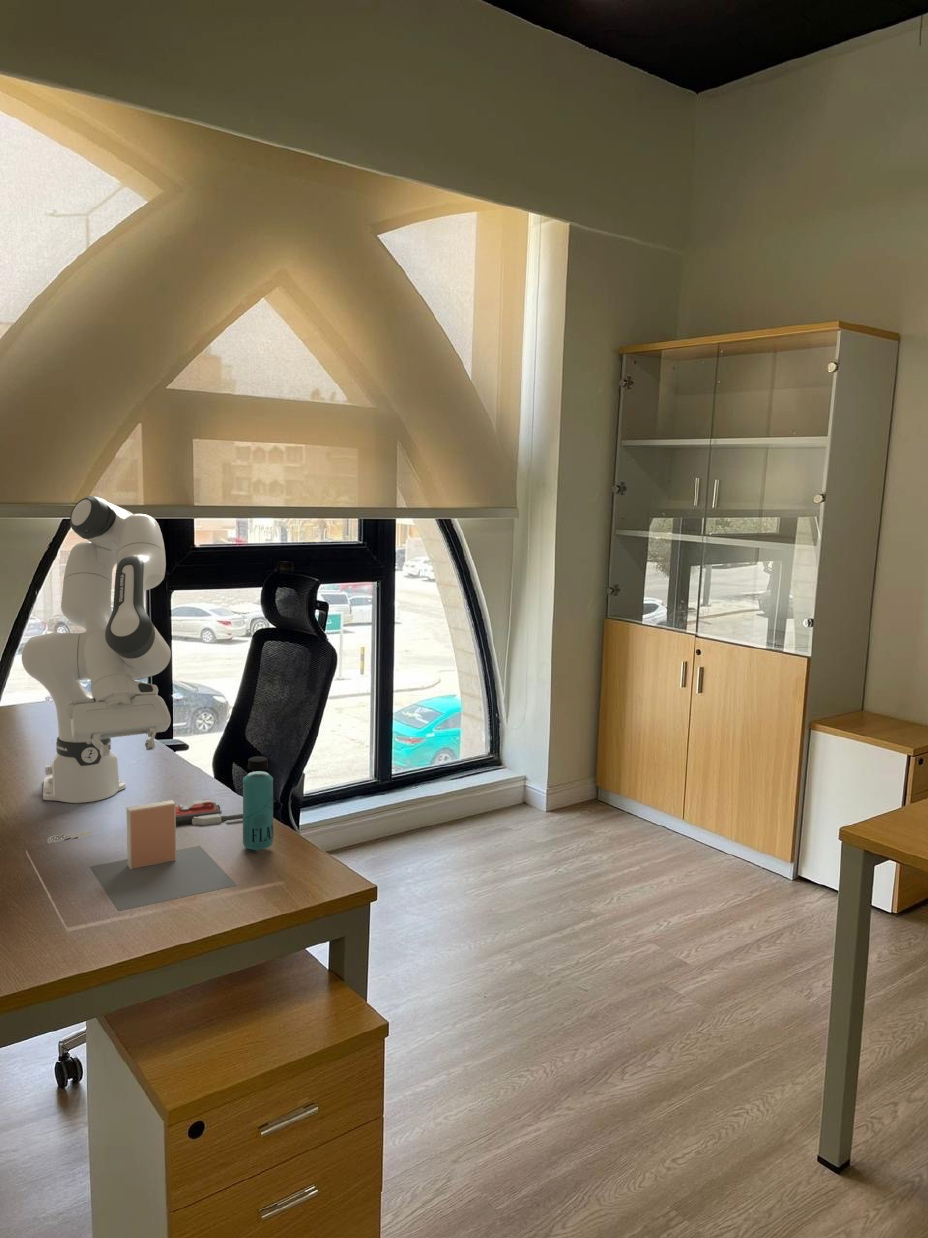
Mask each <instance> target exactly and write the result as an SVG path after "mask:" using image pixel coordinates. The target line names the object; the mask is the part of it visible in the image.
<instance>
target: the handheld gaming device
mask: <svg viewBox="0 0 928 1238" xmlns="http://www.w3.org/2000/svg"><path fill="white" fill-rule="evenodd" d="M64 836H65V837H64ZM92 836H93V832H92V831H80V832H71V833H61V834H54V835H50V836H49V837H47V841H46V842H47V844H53V843H58V842H65V841H71V840H76V839H81V838H87V837H92ZM55 837H56V838H55ZM50 838H51V839H50ZM54 838H55V839H54ZM57 838H58V839H57ZM61 838H62V839H61ZM52 839H53V840H52ZM54 840H55V841H54Z"/></svg>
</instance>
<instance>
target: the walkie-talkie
mask: <svg viewBox="0 0 928 1238" xmlns="http://www.w3.org/2000/svg"><path fill="white" fill-rule="evenodd" d="M175 808H176V826H180V825H187V824H189V825H192V826H193V825H201V826H206V825H215V824H221V823H222V822H223V823H224V822H225V823H226V822H227V821H233V820H234V821H235V820H241V819H242V820H243V813H240V814H231V815H222V814H223V812H222V809H221V806H220V804H217V802H213V801H212V800H211V799H209V798H206V799H197V800H192V801H191V802H189V803H188V804H187V805H183V804H182V803H179V804H178V806H175Z"/></svg>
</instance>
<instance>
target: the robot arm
mask: <svg viewBox="0 0 928 1238" xmlns="http://www.w3.org/2000/svg"><path fill="white" fill-rule="evenodd" d="M69 524H70V528H71V530H72V531H73V532H74V533H76V534H77V536H79V537H80V538H82V539H84V540H86V541H81V542H78V543H77V544H75V545H73V547H72V548H71V550H70V551H69V555H68V558H67V561H66V565H65V568H64V575H63V581H62V594H61V602H60V608H61V611H62V615H64V617H65V618H66V619H67V620H69V621H70V622H71V623H73V624H75V625H77V626H80V627H81V628H83V629H85V631H84V632H67V633H66V632H57V633H56V632H51V633H44V634H40V635H34V636H31V637H30V638H29V639H28V640H27V641H26V643H25V644H24V646H23V648H22V652H21V663H22V666H23V668H24V670H25V672H26V673H27V674H28V675H29V676H30V677H31V678H33V679H34V680H36V681H38V683H40V684H41V685H42V686H43V687H44V688H45V689H46V691H48V694H49V695H50V696H51V699H52V700H53V702H54V706H55V710H56V717H57V728H58V730H57V731H58V733H57V734H58V736H57V737H56V742H55V743H56V744H55V746H56V747H55V751H56V754H55V756H54V757H53V759H52V764H46V765H45V766H44V768H45V770H44V772H45V775H46V776H45V777H43V788H42V791H43V792H42V800H44V801H58V802H63V803H72V804H73V803H75V804H77V803H90V802H97V801H101V800H105V799H107V798H110V797H112V796H113V795H115V794H116V793H117V792H119V791H122V790H124V789H126V788H127V785H126V782H123V781H122V780H120V776H119V775H120V774H119V764H118V757H117V755H116V754H115V753H113V752H112V751H111V749H112V739H113V738H121V737H128V736H129V737H130V736H137V735H145V734H147V737H148V738H150V739H146V741H145V744H144V747H145V748H146V749H145V750H146V751H153V750H154V749H155V748H156V744H155V738H156V735H157V733H163V732H166V731H167V730H168V728H169V727H170V725H171V721H172V719H171V714H170V711H169V708H168V706H167V704H166V702H165V700H164V698H162V696H160V695H158V693H159V688H158V686H157V684H154V683H153V684H152V683H147V682H142V681H138V680H143V679H148V678H151V677H154V676H157V675H159V674H160V673H162V672H163V671H165V670H166V669H167V667H168V665H169V664H170V662H171V659H172V650H171V647H170V645H168V643H167V641H166V640H165V639H164V637H163V636H162V635H161V633H160V632H159V631H158V628H156V627H155V625H154V624H153V622H152V620H151V618H150V616H149V615H148V613H147V612H146V609H145V591H149V590H151V589H154V588H156V587H157V586H159V585H160V584H161V583H162V581H164V579H165V575H166V568H167V567H166V566H167V563H166V562H167V561H166V559H167V558H166V549H165V542H164V538H163V533H162V531H161V528H160V525H159V522H157V520H156V519H155V518H154V517H153V516H152V515H151V516H150V515H148V514H143V513H133V512H131V511H129V510H127V509H126V508H122V507H120V506H118V505H116V504H114V503H111V502H108V501H107V500H106V499H105V498H102V497H98V496H95V495H94V496H93V495H89V496H88V495H87V496H85V497H83V498H82V499H80V500H79V501H77V503H76V504H74V507H73V508H72V511H71V513H70V517H69ZM115 567H116V569H115V577H114V591H113V607H112V589H113V588H112V586H113V571H114V570H113V569H114V568H115ZM83 680H85V681H86V680H90V691H89V690H87V689H86V688H85V687H84V686H83V685H82V683H81V681H83Z"/></svg>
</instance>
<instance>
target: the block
mask: <svg viewBox="0 0 928 1238" xmlns="http://www.w3.org/2000/svg"><path fill="white" fill-rule="evenodd" d="M175 807H176V802H175V801H174V800H173V799H170V800H163V801H159V802H151V803H146V804H138V805H134V806H133V805H132V806H126V808H125V809H126V845H127V846H126V848H127V849H126V850H127V851H126V852H127V853H126V855H127V860H128V867H129V868H130V869H133V868H138V867H143V866H149V865H154V864H159V863H164V862H169V861H174V860H176V850H177V831H176V830H177V825H176V808H175Z"/></svg>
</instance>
